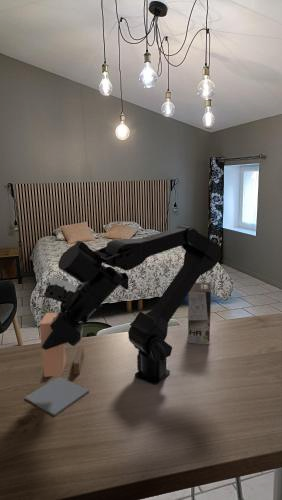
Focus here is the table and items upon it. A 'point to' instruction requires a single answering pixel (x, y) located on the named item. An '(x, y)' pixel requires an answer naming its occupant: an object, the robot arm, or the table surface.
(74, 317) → the robot arm
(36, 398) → the slate mat
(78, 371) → the slot holder
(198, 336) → the coffee box
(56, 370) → the thick orange-brown block
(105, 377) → the table surface
